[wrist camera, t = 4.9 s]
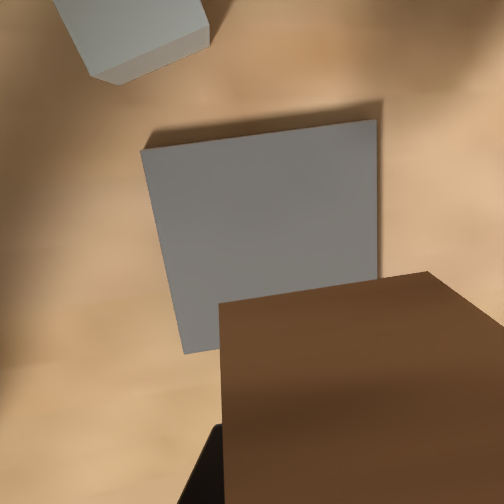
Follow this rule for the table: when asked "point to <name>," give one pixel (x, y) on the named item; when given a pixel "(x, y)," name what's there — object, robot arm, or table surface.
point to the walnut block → (362, 396)
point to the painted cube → (133, 34)
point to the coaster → (263, 217)
